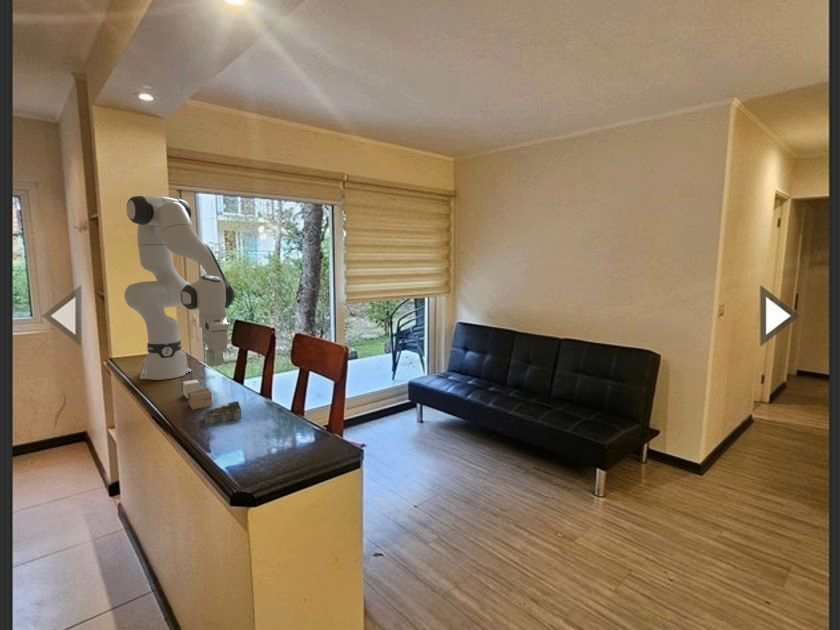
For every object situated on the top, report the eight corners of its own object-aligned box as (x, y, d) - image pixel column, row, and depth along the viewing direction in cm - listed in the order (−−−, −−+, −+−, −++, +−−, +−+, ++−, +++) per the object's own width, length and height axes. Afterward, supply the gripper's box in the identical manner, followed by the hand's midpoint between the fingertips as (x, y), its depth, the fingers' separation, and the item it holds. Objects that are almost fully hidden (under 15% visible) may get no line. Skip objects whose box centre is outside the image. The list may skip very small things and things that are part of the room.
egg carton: (240, 412, 143) (240, 400, 142) (242, 420, 136) (242, 407, 136) (203, 417, 138) (203, 404, 138) (203, 425, 132) (203, 412, 131)
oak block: (188, 405, 149) (187, 390, 148) (207, 401, 152) (206, 387, 152) (192, 410, 144) (191, 395, 143) (212, 406, 148) (211, 391, 147)
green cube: (206, 363, 161) (205, 350, 160) (219, 361, 164) (219, 348, 163) (209, 366, 158) (208, 352, 157) (222, 364, 160) (222, 351, 160)
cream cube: (183, 395, 159) (182, 381, 158) (197, 392, 162) (196, 379, 161) (186, 398, 155) (185, 384, 155) (200, 396, 158) (199, 382, 157)
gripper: (196, 317, 164) (198, 354, 167) (210, 327, 149) (211, 367, 151) (215, 316, 168) (216, 352, 170) (230, 325, 152) (231, 364, 155)
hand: (214, 359), depth 160 cm, fingers closed on green cube, 4 cm apart
